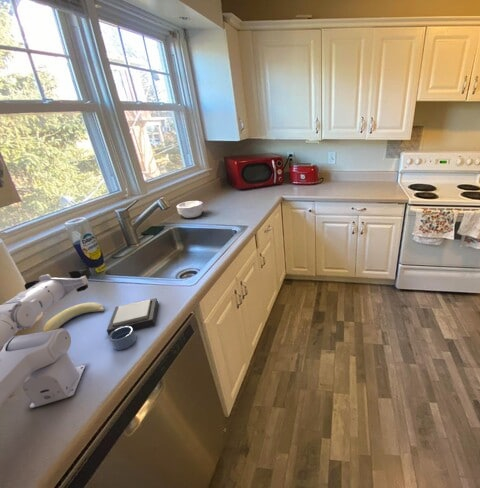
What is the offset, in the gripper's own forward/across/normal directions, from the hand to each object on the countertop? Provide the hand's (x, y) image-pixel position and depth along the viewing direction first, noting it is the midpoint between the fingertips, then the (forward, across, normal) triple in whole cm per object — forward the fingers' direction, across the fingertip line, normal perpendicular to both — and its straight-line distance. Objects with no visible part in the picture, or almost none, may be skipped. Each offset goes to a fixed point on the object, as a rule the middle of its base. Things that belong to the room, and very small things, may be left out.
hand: (72, 276), depth 78 cm
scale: (+5, -7, +20) cm, 22 cm away
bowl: (-6, -8, +22) cm, 24 cm away
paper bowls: (+104, -13, +5) cm, 105 cm away
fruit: (+9, +11, +17) cm, 22 cm away
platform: (+4, -8, +18) cm, 20 cm away
